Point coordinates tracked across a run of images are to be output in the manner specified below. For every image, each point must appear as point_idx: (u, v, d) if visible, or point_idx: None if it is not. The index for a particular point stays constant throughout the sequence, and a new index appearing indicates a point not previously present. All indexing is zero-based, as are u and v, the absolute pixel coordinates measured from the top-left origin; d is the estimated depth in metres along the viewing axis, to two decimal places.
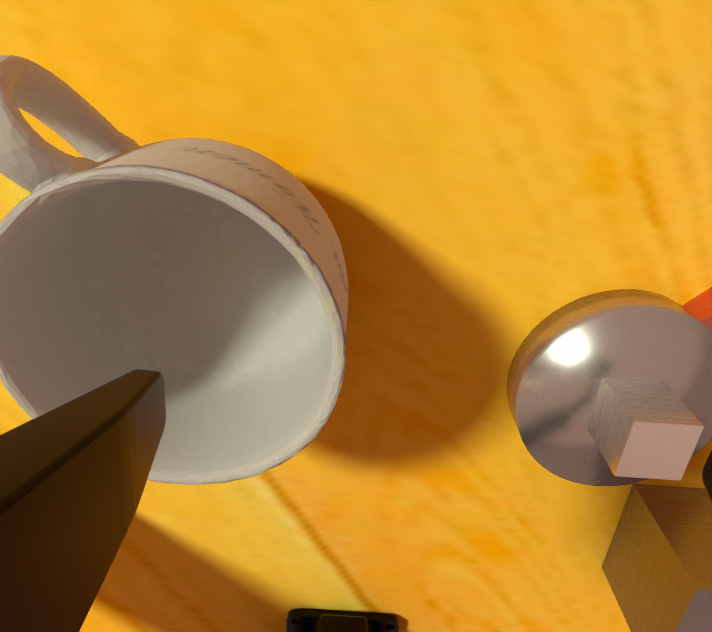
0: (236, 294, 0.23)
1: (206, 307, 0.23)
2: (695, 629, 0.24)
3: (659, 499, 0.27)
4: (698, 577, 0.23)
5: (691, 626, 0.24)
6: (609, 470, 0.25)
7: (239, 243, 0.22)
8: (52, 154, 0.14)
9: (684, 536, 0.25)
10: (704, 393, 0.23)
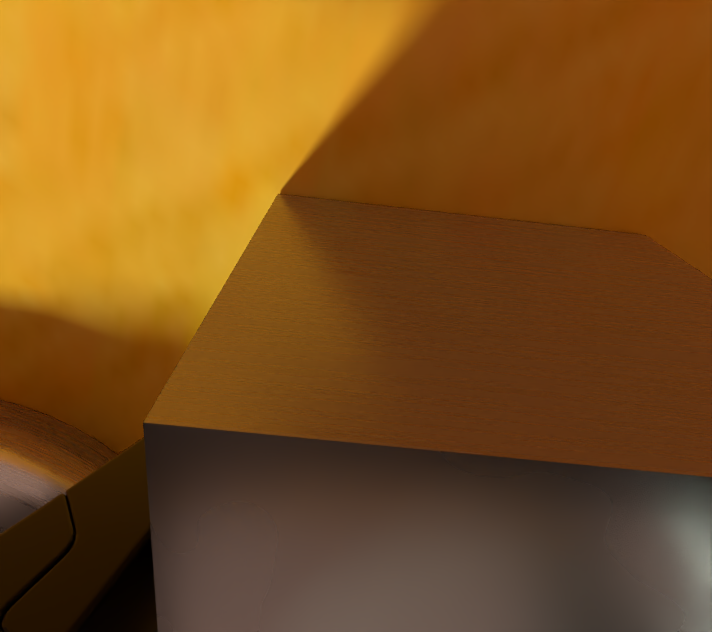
0: None
1: None
2: None
3: None
4: None
5: None
6: None
7: None
8: None
9: None
10: None
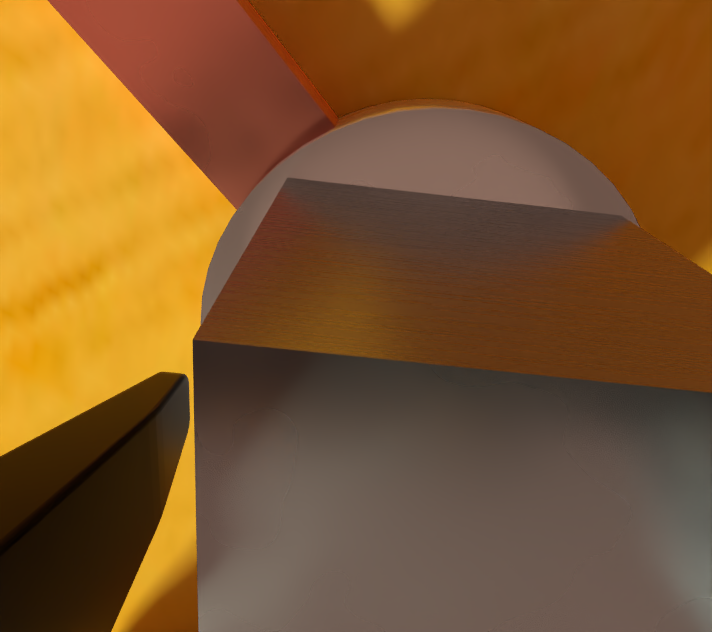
0: None
1: None
2: None
3: None
4: None
5: None
6: None
7: None
8: None
9: None
10: (405, 186, 0.10)
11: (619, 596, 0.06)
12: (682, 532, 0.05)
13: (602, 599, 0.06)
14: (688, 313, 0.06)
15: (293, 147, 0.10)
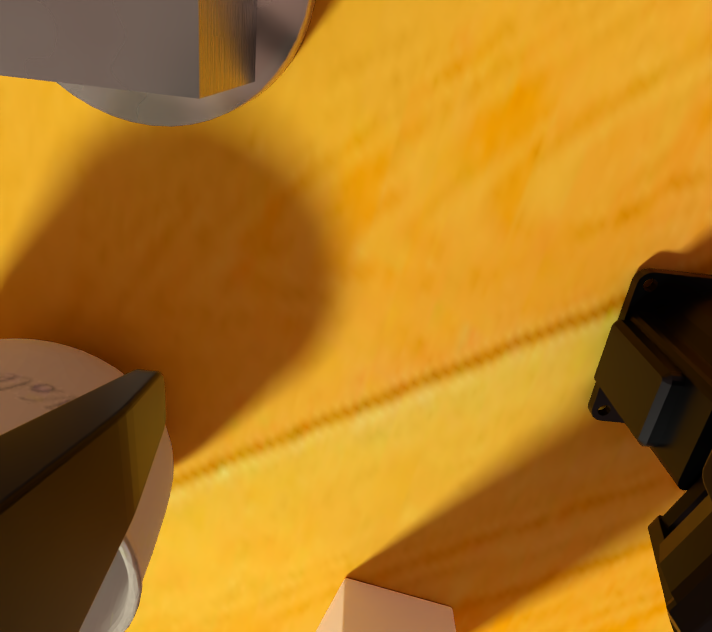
0: None
1: None
2: (7, 30, 0.10)
3: None
4: None
5: None
6: None
7: None
8: None
9: None
10: None
11: None
12: None
13: None
14: None
15: None
